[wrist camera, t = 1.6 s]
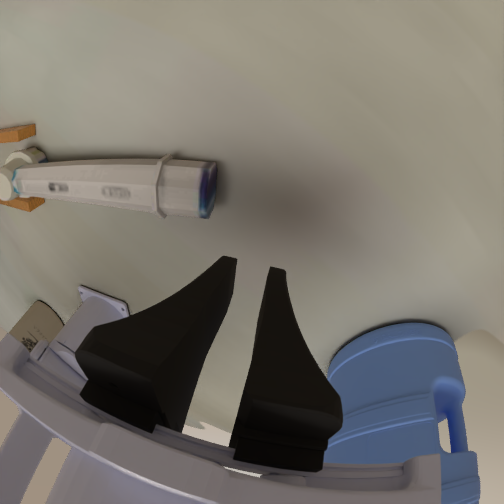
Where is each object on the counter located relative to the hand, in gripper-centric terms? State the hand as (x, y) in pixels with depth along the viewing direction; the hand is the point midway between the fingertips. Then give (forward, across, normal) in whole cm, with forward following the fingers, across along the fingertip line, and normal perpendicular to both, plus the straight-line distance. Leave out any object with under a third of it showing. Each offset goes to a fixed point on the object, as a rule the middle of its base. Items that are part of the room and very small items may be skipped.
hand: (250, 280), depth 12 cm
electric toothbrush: (+10, +17, 0) cm, 20 cm away
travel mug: (+10, +36, +29) cm, 47 cm away
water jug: (+10, -17, +16) cm, 25 cm away
